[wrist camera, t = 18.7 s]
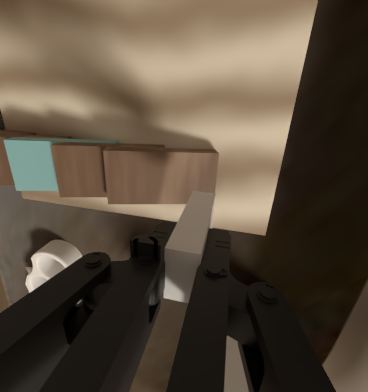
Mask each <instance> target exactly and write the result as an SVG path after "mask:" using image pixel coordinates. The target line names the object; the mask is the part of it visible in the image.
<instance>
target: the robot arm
mask: <svg viewBox="0 0 368 392" xmlns="http://www.w3.org/2000/svg"><path fill="white" fill-rule="evenodd" d="M215 196H216V193H209V192H201V191H193V192H192V194H191V196H190V198H189V200H188V202H187V204H186V206H185V208H184V210H183V212H182V214H181V216H180V218H179V220H178V222H177V224H175V223H168V222H163V223H162V224H160V225H158V226H157V228H156V229H155V231H154V232H153V234H152V235H151V234H142V235H138V236H135V237H133V238H132V239H131V240H130V250H131V257H130V258H129V260H126V261H111V260H110V257H109V255H107V254H106V253H102V252H93V253H89V254H86V255H84V256H82V257H81V258H79V259H78V260H76V261H75V262H74V263H72V264H71V265H69V266H68V267H66V268H65V269H63V270H62V271H61V272H59V273H58V274H56V275H55V276H53V277H52V278H50V279H49V280H48V281H46V282H45V283H43V284H42V285H40V286H39V287H37V288H36V289H34V290H33V291H32V292H30V293H29V294H27V295H26V296H24V297H23V298H21V299H20V300H19V301H17V302H16V303H14V304H13V305H11V306H10V307H9V308H7V309H6V310H4V311H3V312H1V313H0V392H129V390H130V387H131V385H132V382H133V379H134V376H135V374H136V371H137V368H138V366H139V363H140V360H141V358H142V355H143V352H144V350H145V347H146V344H147V342H148V339H149V336H150V334H151V331H152V328H153V325H154V323H155V320H156V317H157V315H158V312H159V309H160V304H161V296H162V293H163V291H164V298H167V299H171V300H176V301H181V302H185V303H188V307H187V311H186V315H185V319H184V323H183V327H182V331H181V335H180V339H179V343H178V347H177V351H176V355H175V359H174V363H173V367H172V371H171V375H170V379H169V383H168V387H167V391H166V392H224V381H225V362H226V342H227V336H229V337H231V338H233V339H234V340H236V341H238V348H239V352H240V356H241V360H242V364H243V369H244V373H245V377H246V381H247V385H248V390H249V392H336V391H335V389H334V387H333V385H332V383H331V381H330V380H329V377H328V376H327V374H326V372H325V370H324V368H323V366H322V364H321V363H320V361H319V359H318V357H317V355H316V353H315V351H314V349H313V348H312V346H311V344H310V342H309V340H308V338H307V336H306V334H305V333H304V331H303V329H302V327H301V325H300V323H299V321H298V319H297V318H296V316H295V314H294V312H293V310H292V308H291V306H290V304H289V303H288V301H287V299H286V297H285V295H284V294H283V293H282V291H281V290H280V289H278V288H277V287H276V286H274V285H272V284H269V283H266V282H254V283H253V284H251V285H250V286H247V285H245V284H243V283H241V282H239V281H238V280H236V279H235V278H234V277H233V276H232V275H231V273H230V270H229V263H230V245H231V236H230V235H229V233H228V231H224V230H218V229H212V223H213V214H214V205H215ZM81 299H82V301H80V300H81ZM79 301H80V302H79ZM78 302H79V303H78ZM77 303H78V304H77Z"/></svg>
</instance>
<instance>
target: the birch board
mask: <svg viewBox="0 0 368 392" xmlns="http://www.w3.org/2000/svg"><path fill="white" fill-rule="evenodd" d="M317 2H318V0H0V110H1V114H2V118H3V122H4V126H5V130H12V131H22V132H33V133H36V135H49V136H71V139H92V140H118V144H154V145H164V146H165V148H176V149H214V150H216V151H217V152H218V153H219V161H218V170H217V179H216V188H215V193H216V196H215V205H214V214H213V223H212V227H213V228H220V229H226V230H233V231H239V232H246V233H252V234H259V235H265V234H266V230H267V226H268V221H269V217H270V212H271V208H272V203H273V199H274V194H275V190H276V185H277V181H278V176H279V172H280V167H281V163H282V158H283V154H284V149H285V145H286V141H287V136H288V132H289V127H290V123H291V118H292V114H293V109H294V105H295V100H296V96H297V91H298V87H299V82H300V78H301V73H302V69H303V65H304V60H305V56H306V51H307V47H308V42H309V38H310V33H311V29H312V24H313V20H314V15H315V11H316V6H317ZM21 193H22V197H23V198H25V199H31V200H38V201H44V202H51V203H57V204H64V205H70V206H77V207H83V208H90V209H96V210H103V211H109V212H116V213H122V214H129V215H135V216H142V217H148V218H155V219H161V220H168V221H174V222H178V220H179V218H180V216H181V214H182V212H183V210H184V208H185V206H186V204H108V199H107V197H60V196H59V191H21Z"/></svg>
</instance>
